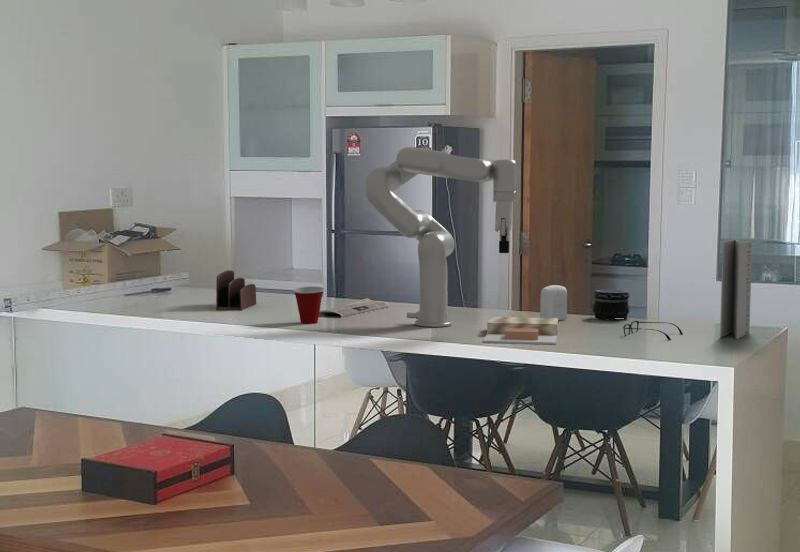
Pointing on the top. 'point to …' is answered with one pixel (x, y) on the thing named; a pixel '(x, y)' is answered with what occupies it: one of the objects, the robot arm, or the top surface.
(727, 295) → the brochure
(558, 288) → the photo printer
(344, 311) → the newspaper
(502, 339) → the mat
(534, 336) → the tile
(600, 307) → the container
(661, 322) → the eyeglasses
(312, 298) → the plastic cup
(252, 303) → the letter holder
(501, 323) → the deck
